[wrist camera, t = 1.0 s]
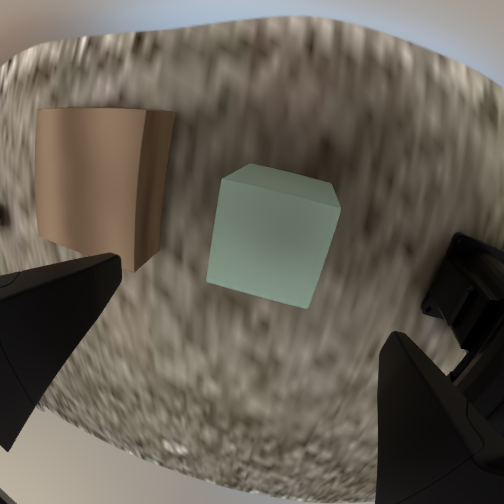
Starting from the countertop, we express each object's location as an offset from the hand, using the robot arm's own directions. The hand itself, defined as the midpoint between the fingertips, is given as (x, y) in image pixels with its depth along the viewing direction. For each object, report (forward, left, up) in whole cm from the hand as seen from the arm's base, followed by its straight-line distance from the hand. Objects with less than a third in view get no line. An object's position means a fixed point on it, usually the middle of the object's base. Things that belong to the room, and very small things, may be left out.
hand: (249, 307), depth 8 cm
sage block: (0, 0, -10) cm, 10 cm away
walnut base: (+13, 0, -11) cm, 17 cm away
